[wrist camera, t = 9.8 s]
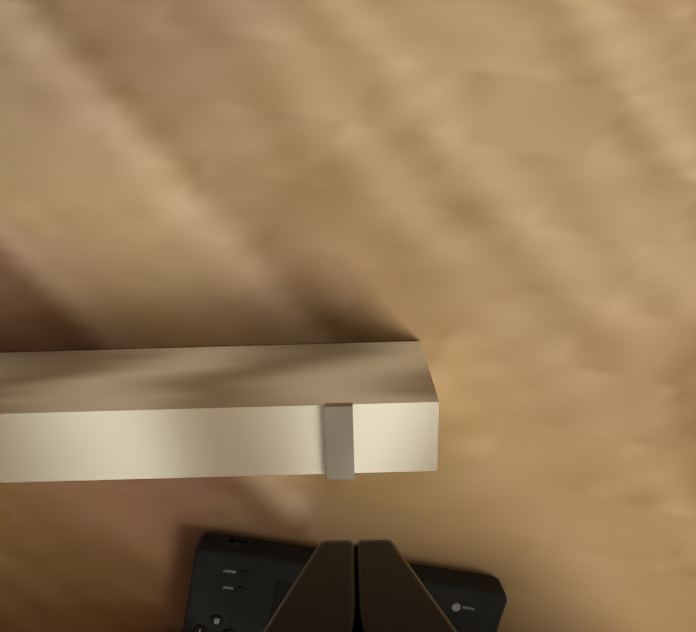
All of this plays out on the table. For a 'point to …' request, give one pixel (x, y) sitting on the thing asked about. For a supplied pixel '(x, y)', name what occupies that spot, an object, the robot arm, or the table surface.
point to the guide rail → (217, 412)
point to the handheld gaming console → (282, 571)
